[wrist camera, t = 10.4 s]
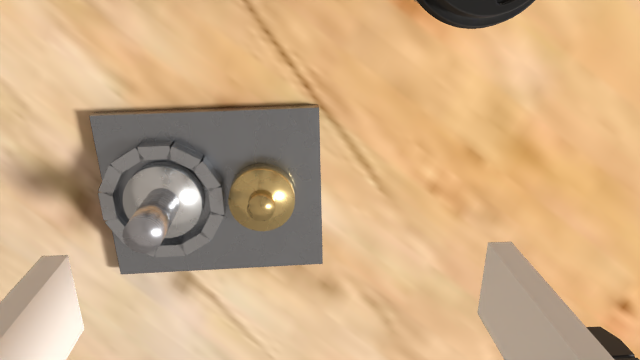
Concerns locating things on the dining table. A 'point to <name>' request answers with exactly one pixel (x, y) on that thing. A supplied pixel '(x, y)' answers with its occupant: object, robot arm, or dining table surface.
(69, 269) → the robot arm
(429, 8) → the coffee cup
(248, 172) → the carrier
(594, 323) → the dining table surface
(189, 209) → the silver round-based piece
